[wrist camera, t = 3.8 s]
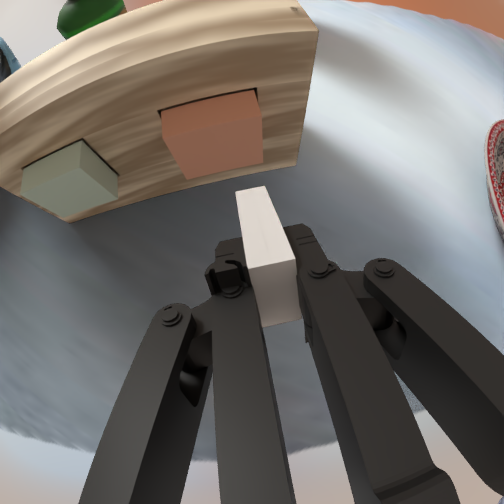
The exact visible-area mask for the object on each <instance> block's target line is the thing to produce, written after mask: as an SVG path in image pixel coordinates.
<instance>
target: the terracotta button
mask: <svg viewBox="0 0 504 504" xmlns="http://www.w3.org/2000/svg"><path fill="white" fill-rule="evenodd" d="M161 121H162V137H163V140H164V142H165V143H166V145H167V147H168V149H169V150H170V152H171V154H172V155H173V157H174V159H175V161H176V162H177V164H178V166H179V167H180V169H181V171H182V173H183V174H184V176H185V178H186V179H187V180H188V179H192V178H196V177H200V176H205V175H209V174H213V173H217V172H222V171H226V170H231V169H235V168H240V167H245V166H250V165H255V164H260V163H263V137H262V115H261V111H260V108H259V105H258V102H257V98H256V95H255V92H254V90H250V91H245V92H239V93H234V94H229V95H224V96H219V97H215V98H210V99H206V100H202V101H198V102H194V103H190V104H186V105H182V106H178V107H175V108H171V109H168V110H164V111H161Z"/></svg>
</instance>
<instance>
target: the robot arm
mask: <svg viewBox="0 0 504 504" xmlns="http://www.w3.org/2000/svg"><path fill="white" fill-rule="evenodd" d="M20 68H21V65H20V64H19V62H18V60H17V59H16V57H15V56H14V54H13V53H12V51H11V49H10V48H9V46H8V45H7V44H6V42H5V41H4V40H3V39H2V38H1V37H0V83H1V82H2V81H3V80H5V79H6V78H7V77H9V76H10V75H12V74H13V73H14V72H16V71H17V70H19V69H20ZM235 193H236V200H237V206H238V213H239V219H240V225H241V231H242V237H240V238H235V239H230V240H226V241H221V242H220V243H219V244H218V246H217V248H216V249H215V257H216V258H215V262H214V263H213V264H211V265H210V266H209V267H208V268H207V269H206V272H205V278H206V280H207V283H208V286H209V289H210V292H211V295H212V297H211V298H210V299H209V300H208V301H206V302H205V303H203V304H201V305H199V306H197V307H195V308H193V309H189V307H188V306H186V305H185V304H179V303H176V304H170V305H168V306H165V307H163V308H162V309H161V310H159V311H158V312H157V313H156V315H155V316H154V317H153V319H152V322H151V324H150V326H149V328H148V330H147V332H146V334H145V336H144V339H143V341H142V343H141V345H140V347H139V350H138V352H137V354H136V356H135V358H134V361H133V363H132V365H131V367H130V370H129V372H128V374H127V377H126V379H125V381H124V383H123V386H122V388H121V391H120V393H119V395H118V398H117V400H116V402H115V405H114V407H113V410H112V412H111V415H110V417H109V420H108V422H107V425H106V427H105V430H104V432H103V435H102V438H101V440H100V443H99V446H98V448H97V451H96V454H95V456H94V459H93V462H92V465H91V468H90V470H89V473H88V476H87V479H86V482H85V485H84V488H83V491H82V494H81V497H80V500H79V504H180V502H181V498H182V494H183V490H184V486H185V482H186V477H187V474H188V469H189V465H190V461H191V457H192V453H193V449H194V445H195V441H196V437H197V433H198V429H199V425H200V421H201V417H202V413H203V409H204V405H205V401H206V397H207V393H208V389H209V385H210V381H211V377H212V373H213V387H214V410H215V430H216V447H217V462H218V474H219V488H220V499H221V504H296V499H295V494H294V489H293V484H292V479H291V474H290V469H289V464H288V458H287V453H286V448H285V442H284V437H283V432H282V427H281V422H280V416H279V411H278V406H277V401H276V395H275V390H274V385H273V380H272V374H271V369H270V364H269V359H268V353H267V348H266V343H265V338H264V334H263V329H262V327H267V326H272V325H277V324H281V323H286V322H290V321H295V320H299V319H302V316H303V319H304V327H305V340H306V343H307V342H309V345H310V348H311V351H312V355H313V358H314V361H315V364H316V368H317V371H318V374H319V378H320V381H321V384H322V388H323V391H324V394H325V398H326V401H327V404H328V408H329V411H330V415H331V418H332V422H333V425H334V428H335V432H336V435H337V439H338V443H339V446H340V450H341V453H342V457H343V461H344V464H345V468H346V471H347V475H348V479H349V483H350V486H351V490H352V494H353V498H354V502H355V504H460V501H459V498H458V495H457V492H456V489H455V486H454V484H453V482H452V480H451V478H450V477H449V475H448V474H447V473H446V472H445V471H443V470H441V469H439V468H437V467H436V466H435V464H434V463H433V461H432V459H431V457H430V454H429V451H428V449H427V446H426V444H425V441H424V439H423V436H422V434H421V431H420V429H419V427H418V424H417V422H416V420H415V417H414V415H413V413H412V410H411V408H410V406H409V404H408V401H407V399H406V397H405V395H404V392H403V390H402V388H401V386H400V384H399V382H398V380H397V377H396V375H395V373H394V371H395V372H396V374H397V375H398V376H399V377H400V378H401V380H402V381H403V382H404V383H405V384H406V386H407V387H408V388H409V389H410V390H411V392H412V393H413V394H414V395H415V396H416V398H417V399H418V400H419V401H420V402H421V404H422V405H423V406H424V407H425V409H426V410H427V411H428V412H429V414H430V415H431V416H432V417H433V418H434V420H435V421H436V422H437V423H438V425H439V426H440V427H441V428H442V430H443V431H444V432H445V433H446V435H447V436H448V437H449V438H450V440H451V441H452V442H453V443H454V445H455V446H456V447H457V449H458V450H459V451H460V452H461V454H462V455H463V456H464V458H465V459H466V460H467V462H468V463H469V464H470V465H471V467H472V468H473V469H474V471H475V472H476V473H477V475H478V476H479V477H480V478H481V479H482V480H483V481H484V483H485V484H486V485H488V486H489V487H490V488H491V489H492V490H494V491H495V492H497V493H498V494H500V495H502V496H503V497H502V498H501V499H500V501H499V503H498V504H504V355H503V354H502V353H501V352H500V351H499V350H498V349H497V348H496V347H495V346H494V345H492V344H491V343H490V342H489V341H488V340H487V339H486V338H485V337H484V336H483V335H482V334H481V333H480V332H479V331H478V330H477V329H475V328H474V327H473V326H472V325H471V324H470V323H469V322H468V321H467V320H466V319H464V318H463V317H462V316H461V315H460V314H459V313H458V312H457V311H455V310H454V309H453V308H452V307H451V306H450V305H449V304H447V303H446V302H445V301H444V300H443V299H442V298H440V297H439V296H438V295H437V294H436V293H434V292H433V291H432V290H431V289H430V288H428V287H427V286H426V285H425V284H424V283H422V282H421V281H420V280H419V279H417V278H416V277H415V276H414V275H412V274H411V273H410V272H409V271H407V270H406V269H405V268H404V267H402V266H401V265H400V264H398V263H397V262H395V261H393V260H390V259H386V258H378V259H374V260H371V261H370V262H368V263H367V264H366V265H365V267H364V271H344V270H340V268H339V267H338V266H337V265H336V264H335V263H334V262H332V261H329V260H328V259H327V257H326V255H325V254H324V252H323V250H322V248H321V247H320V245H319V243H318V242H317V240H316V238H315V236H314V234H313V233H312V231H311V229H310V228H309V227H307V226H305V225H304V224H297V225H293V226H288V227H282V225H281V223H280V220H279V218H278V216H277V213H276V211H275V209H274V206H273V204H272V202H271V199H270V197H269V195H268V192H267V190H266V188H265V186H261V187H256V188H251V189H246V190H241V191H237V192H235ZM301 313H302V316H301ZM393 370H394V371H393Z"/></svg>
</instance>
